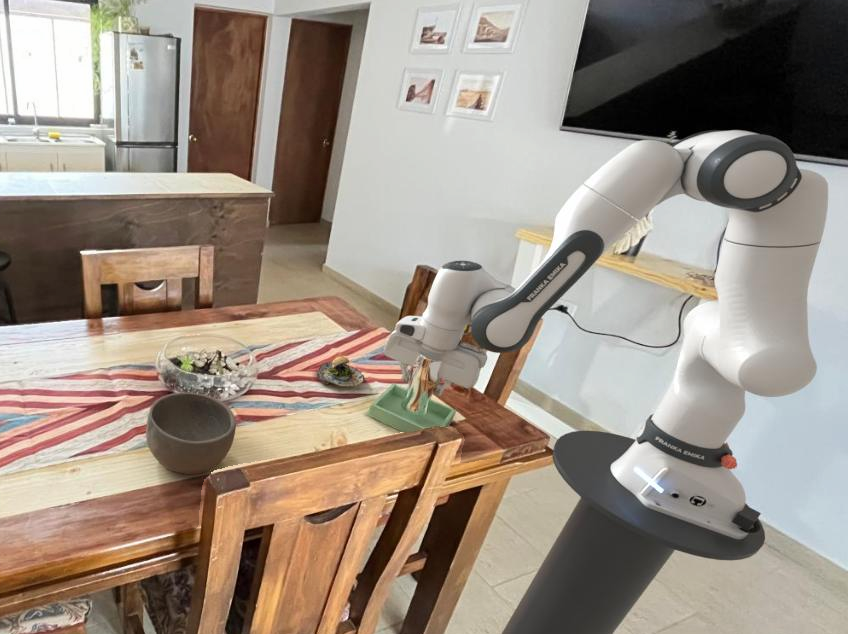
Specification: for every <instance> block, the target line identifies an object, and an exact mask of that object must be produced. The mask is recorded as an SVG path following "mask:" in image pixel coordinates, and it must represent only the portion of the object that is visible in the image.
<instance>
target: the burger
mask: <svg viewBox="0 0 848 634" xmlns="http://www.w3.org/2000/svg"><path fill="white" fill-rule="evenodd" d="M349 363H350V359H349V358H348V357H346V356H343V355H342V356H341V355H339V356H337V357H335V358H334V359H333V360H332V361H329V362H328V361H327V362H325V363H322V364H320V366H319V367H318V371H317V373H316V375H317V378H318V380H319V381H320V382H321V383H322V384H323V385H324V386H327V385H328V384H332V385H334V386H338V387H343V388H346V387H348V388H349V387H350V388H351V387H355V386H360V385H361V384H362V383H363V382H364V381H365V380H366V379H365V378H366V377H365V376H364V374H362V372H361V371H360V370H359V369H358V368H356V367H354V366H351V365H350V364H349ZM348 364H349V365H348Z"/></svg>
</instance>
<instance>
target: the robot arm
mask: <svg viewBox="0 0 848 634" xmlns="http://www.w3.org/2000/svg"><path fill="white" fill-rule="evenodd" d="M828 184H829V183H828V181H827V179H826V178H825V177H824V176H823V175H822V174H820V173H818V172H815V171H813V170H809V169H805V168H799V167H798V164H797V160H796V157H795V155H794V153H793V151H792V150H791V148H790V147H789V146H788V145H787V144H786V143H784V142H783V141H782V140H780V139H779V138H777V137H774V136H772V135H767V134H762V133H761V134H760V133H757V132H753V131H748V130H742V129H731V130H722V129H711V130H705V131H701V132H696V133H693V134H691V135H689V136H687V137H684V138H682V139H679V140H677V141H675V142H672V143H670V144H668V143H666V142H664V141H661V140H655V139H642V140H638V141H636V142H635V141H634V142H633V143H632V144H630V145H628V146H627V147H625V148H624V149H622V150H621V151H620V152H618V153H616V155H614V156H612V158H610V159H609V160H608V161H607V162H606V163H604V164H603V165H602V166H601V167H600V168H598V169H597V170H596V171H595V172H594V173H593V174H591V176H590V177H588V178H587V179H586V180H585V181H584V182H583V184H581V185H580V186H579V187H577V189H576V190H575V191H574V192H573V193H572V194H571V195H570V197H569V198H568V199H567V200H566V202H564V204H563V206H562V207H561V208H560V210H559V211H558V213H557V214H556V216H555V219H554V229H553V237H552V240H551V245H550V248H549V250H548V252H547V254H546V255H545V257H544V259H543V260H542V261H541V262H540V263H539V265H537V266H536V267H535V268H534V270H533V271H532V272H531V273H530V274H529V275H528V276H527V277H525V279H524V280H523V281H522V282H521V283H520V284H519V285H518V286H517V287H516V288H514V287H513V286H512V285H510V284H506V283H504V282H502V281H500V280H498V279H497V278H495V277H494V276H493V275H491V274H490V273H489V272H488V271H487V270H486V269H485V268H484V267H483V266H482V265H481V264H480V263H477V262H474V261H471V260H470V261H469V260H452V261H450V262H447V263H445V264H443V265H442V266H441V267H440V268H439V270H438V272H437V273H436V276H435V277H434V279H433V282H432V285H431V287H430V291H429V293H428V296H427V306H426V308H425V310H424V311H423V313H422V316H421V315H406V316H404V317H402V318H401V319H400V320H399V321H398V322H397V323H396V325H395V328H394V330H393V331H392V332H391V333H390V334H389V336H388V338H387V340H386V341H385V344H384V347H383V354H384V356H385V357H387V358H389V359H392V360H394V361H397V362H399V363H400V365H399V367H400V370H401V379H400V380H401V381H404V382H406V383H408V380H409V373H410V371H409V369H408V366H409V367H411V366H412V365H413V362H414V360H415V358H416V356H417V353H418V351H419V352H420V353H421V354H422V355H423V356H425V357H427V358H430V359H433V360H443V362H442V365H441V369H440V373H439V378H442V380H444V381H443V385H441V384H439V386H438V387H436V390H435V392H434V394H433V395H437V396H439V397H441V396H443V394H444V391H445V390H446V389H448V388H450V387H451V385H452V384H454V385H457V386H459V387H462V388H464V389H466V390H470V389H472V388H474V387H475V386H476V384H477V382H478V380H479V377H480V374H481V369H483V368H485V366H486V363H487V361H488V355H487V353H486V352H485V351H487V352H491V353H495V354H507V353H512V352H515V351H517V350H520V349H521V348H523V347H525V345H527V344H528V342H529V341H530V340H531V338H532V337H533V335H534V333H535V331H536V328H537V326H538V324H539V322H540V320H541V319H542V318H543V316H544V315H545V314H546V313H547V312H549V310H550V309H551V308H552V307H553V306H554V305H555V304H556V303H557V302H558V301H559V300H560V299H561V298H562V297H563V296H565V294H566V293H567V292H568V291H569V290H570V289H571V288H572V287H573V286H574V285H575V284H576V283H577V282H578V281H579V280H580V279H581V278H582V277H583V276H584V275H585V274H586V273H587V272H588V270H589V269H591V267H592V266H593V265H594V264H595V263H596V262H597V261H598V260H599V259H600V258H601V257H602V256H603V255H604V254H605V253H606V252H607V251H608V250H609V249H610V248H611V247H612V246H613V245H615V244H616V243H617V242H618V241H619V240H620V239H621V238H622V237H624V236H625V235H626V234H627V233H628V232H629V231H631V229H632V228H634V227H635V226H637V224H638V223H639V222H640V221H641V220H643V219H644V218H645V217H646V216H647V215H648V214H649V213H650V212H651V211H652V210H653V209H654V208H655V207H656V206H658V205H660V204H662V203H663V202H665V201H666V200H669V199H670V198H673V197H676V196H678V195H685V196H687V197H689V198H691V199H693V200H696V201H700V202H704V203H705V202H706V203H710V204H712V205H714V206H718V207H721V208H727V211H728V222H727V224H726V227H725V232H724V235H723V240H722V244H721V247H720V248H721V249H720V253H719V257H718V262H717V266H716V270H715V275H714V280H713V281H714V282H713V283H714V287H715V290H716V295H717V300H716V299H715V300H710V301H706V302H703V303H701V304H699V305H697V306H695V307H694V308H692V309H691V310H690V311H689V312H688V313H687V314H686V316H685V318H684V321H683V325H682V328H683V341H682V345H681V348H680V353H679V356H678V360H677V363H676V368H675V371H674V374H673V377H672V380H671V382H670V385H669V387H668V389H667V391H666V392H665V394H664V395H663V397H662V399H661V401H660V402H659V404H658V406H657V408H656V409H655V411H654V413H652V414H650V415H649V416H647V417H648V418H647V419H646V420H645V421H644V422H643V424H642V426H641V427H640V428H639V431H638V432H637V434H636V439H635V440H636V441H635V442H634V443H633V444H632V446H631V447H630V448H629V449H628V450H627V451H626V452H625V453H624V454H623V455H622V456H621V457H620V458H619V459H617V460H616V461H615V462H613V463H612V464H611V472H612V474H613V476H614V477H615V478H616V479H617V481H618V482H619V483H620V484H622V485H623V486H624V487H625V488H626V489H628V490H629V491H630V492H632V493H633V494H634V495H635V496H636V497H637V498H638V499H639V500H640V501H641V502H642V503H643V504H644V505H645V506H646V507H648V508H650V509H652V510H655V511H658V512H661V513H664V514H667V515H669V516H672V517H675V518H678V519H681V520H684V521H686V522H689V523H692V524H695V525H698V526H701V527H703V528H706V529H709V530H712V531H715V532H718V533H721V534H723V535H726V536H729V537H732V538H735V539H743V538H745V537H746V536H747V535H748V533H755V532H758V531H759V530H760V525H759V522H758V521H756V520H757V519H759V517H760V516H761V514H762V513H761V512H759V511H758V510H756V509H754V508H752V507H750V506H749V505H748V506H749V507H748V506H746V505H745V503H746V502H747V501H746V499H747V497H746V492H745V488H744V487H743V486H744V485H742V483H741V481H740V480H739V479H738V478H737V477H736V475H735V474H734V473H733V472H732V470H733V469H736V468H737V467H738V463H737V462H738V461H737V459H736V457H734V456H733V454H734V453H733V450H732V449H731V448H730V445H729V443H728V442H726V441H727V439H728V438H729V437H730V435H731V434H732V432H733V431H734V430H735V428H736V427H737V425H738V424H739V423H740V421H741V420H742V418H743V417H744V415H745V413H746V392H748V393H751V394H752V395H755V396H758V397H765V398H766V397H767V398H777V397H786V396H789V395H792V394H795V393H797V392H799V391H801V390H802V389H804V388H806V387H807V386H808V385H809V384H811V382H812V381H813V379H814V378H815V377H816V374H817V371H818V366H817V365H818V364H817V361H816V359H815V356H814V354H813V351H812V349H811V344H810V341H809V340H810V338H809V317H808V291H809V285H810V280H811V277H812V273H813V270H814V266H815V262H816V260H817V256H818V251H819V249H820V245H821V243H822V238H823V234H824V230H825V227H826V221H827V215H828V207H829V185H828ZM469 325H471V326H470V327H471V328H470V333H471V336H472V339H473V340H474V342H475V343H476V344H477V346H475V345H472V344H470V343H468V342H465V341H463V340H462V338H463V337H464V333H465V331H466V327H467V326H469ZM484 350H485V351H484ZM752 525H754V527H753V528H751V527H752Z"/></svg>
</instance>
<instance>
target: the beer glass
mask: <svg viewBox="0 0 848 634" xmlns="http://www.w3.org/2000/svg"><path fill="white" fill-rule="evenodd" d="M442 362H443V360H433V359H430V358H427V357H425V356H423V355H422V354H421V353H420V352H419V351H418V353H417V356H416V358H415V360H414V362H413V365H412V366H410V368H409V380H408V382H407V388H406V389H407V393H406V395H405V397H404V399H403V401H402V403H401V408H402V409H403V410H404V411H405V412H406V413H408V414H410V415H413V416H418V417H422V416H425V415H427V413H428V408H429V402H430V399H431V400H432V398H433V395H435V394H434V392H435V390H436V387H438V386H439V385H441V384H440V383H441V382H442V380H443V379H442V378H439V373H440V369H441V365H442Z"/></svg>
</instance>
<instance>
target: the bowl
mask: <svg viewBox="0 0 848 634" xmlns="http://www.w3.org/2000/svg"><path fill="white" fill-rule="evenodd" d="M236 428H237V422H236V417H235V414H234V413H233V411H232V410H231V408H230V407H229V406H228V405H227V404H225V403H224V402H222V401H221V400H219V399H217V398H215V397H212V396H210V395H208V394H202V393H199V392H198V393H197V392H190V391H189V392H185V391H181V392H174V393H170V394H166V395H163V396H161V397H159V398H157V400H155V401H154V402H153V403H152V404H151V406H150V408H149V411H148V415H147V418H146V428H145V438H146V445H147V447H148V449H149V451H150V453H151V455H153V457H154V458H155V459H156V461H157V462H158V463H159V464H160V465H161V466H163V467H164V468H165V469H167V470H170V471H172V472H176V473H180V474H186V475H195V474H202V473H206V472H209V471H210V470H212V469H214V468H215V467H218V465H219V464H221V462H222V461H223V460H224V459H225V458H226V456H227V455H228V454H229V452H230V450H231V448H232V445H233V443H234V439H235V435H236Z"/></svg>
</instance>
